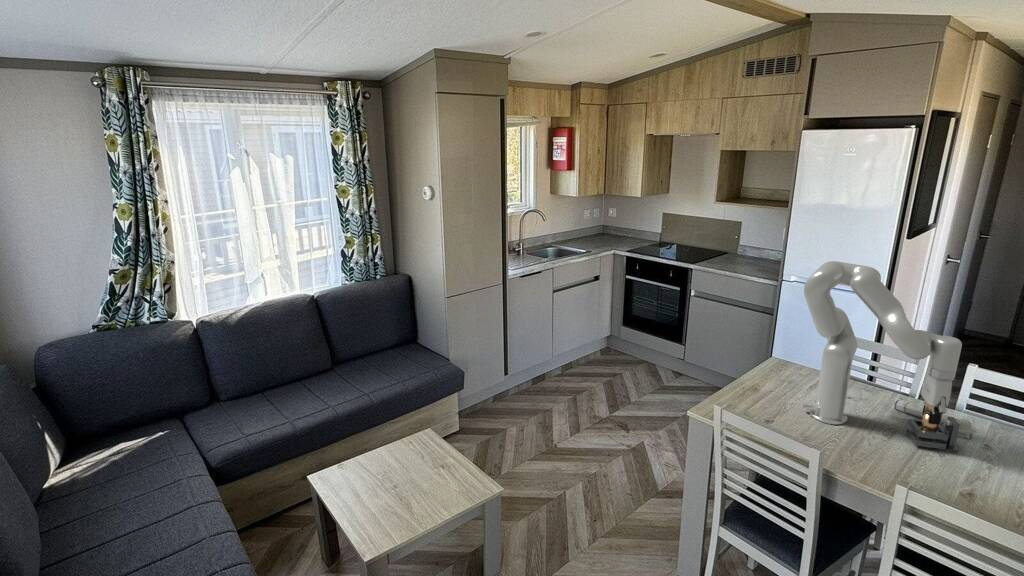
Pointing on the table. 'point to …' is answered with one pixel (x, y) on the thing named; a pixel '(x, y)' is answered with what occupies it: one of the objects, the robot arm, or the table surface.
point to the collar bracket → (935, 435)
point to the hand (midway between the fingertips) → (930, 419)
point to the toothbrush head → (964, 427)
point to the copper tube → (925, 424)
